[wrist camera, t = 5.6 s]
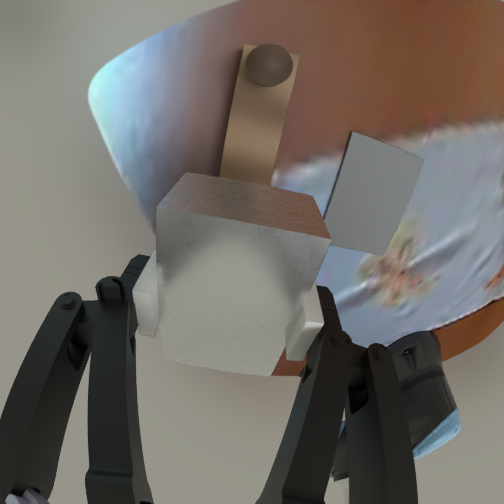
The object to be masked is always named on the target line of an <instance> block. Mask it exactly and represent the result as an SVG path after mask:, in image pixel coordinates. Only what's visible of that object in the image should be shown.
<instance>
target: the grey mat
mask: <svg viewBox="0 0 504 504" xmlns="http://www.w3.org/2000/svg"><path fill="white" fill-rule="evenodd" d="M423 162H424V160H423V159H421V158H419V157H417V156H414V155H412V154H410V153H408V152H405V151H403V150H401V149H398V148H396V147H393V146H391V145H388V144H386V143H383V142H381V141H378V140H376V139H373V138H370V137H367V136H365V135H362V134H359V133H356V132H353V131H351V135H350V138H349V142H348V145H347V148H346V152H345V155H344V158H343V161H342V165H341V168H340V171H339V174H338V177H337V180H336V183H335V186H334V189H333V193H332V196H331V198H330V201H329V204H328V207H327V210H326V213H325V216H324V219H323V220H324V222H325V225H326V227H327V229H328V232H329V234H330V237H331V239H332V240H331V243H330V245H334V246H338V247H343V248H348V249H353V250H358V251H363V252H367V253H372V254H377V255H381V256H384V254H385V252H386V250H387V248H388V246H389V244H390V242H391V239H392V237H393V235H394V233H395V231H396V229H397V227H398V224H399V222H400V220H401V218H402V215H403V213H404V211H405V208H406V206H407V204H408V201H409V199H410V196H411V194H412V192H413V189H414V186H415V184H416V181H417V179H418V176H419V173H420V171H421V168H422V165H423Z"/></svg>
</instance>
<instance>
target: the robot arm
mask: <svg viewBox="0 0 504 504" xmlns="http://www.w3.org/2000/svg"><path fill="white" fill-rule="evenodd" d="M95 288H96V292H97V296H98V300H95V301H82V298H81V296H80V295H79V294H77V293H75V292H66V293H64V294H62V295H60V296H59V297H58V298H57V299H56V301H55V302H54V304H53V306H52V307H51V309H50V311H49V313H48V314H47V316H46V318H45V320H44V321H43V323H42V325H41V327H40V329H39V330H38V332H37V334H36V336H35V338H34V340H33V342H32V344H31V346H30V348H29V350H28V352H27V354H26V356H25V358H24V360H23V363H22V365H21V367H20V369H19V371H18V374H17V376H16V378H15V381H14V383H13V385H12V388H11V390H10V393H9V396H8V398H7V401H6V404H5V407H4V410H3V412H2V415H1V418H0V504H49V502H48V501H47V500H48V498H49V497H50V494H51V491H52V489H53V486H54V481H55V477H56V472H57V466H58V461H59V456H60V452H61V447H62V443H63V439H64V435H65V431H66V427H67V423H68V420H69V416H70V413H71V409H72V406H73V403H74V399H75V396H76V393H77V390H78V387H79V384H80V381H81V378H82V375H83V372H84V370H85V367H86V364H87V361H88V359H89V356H90V353H91V361H90V373H89V388H88V450H89V470H88V471H87V473H86V476H85V487H86V494H87V501H88V504H154V503H153V498H152V494H151V490H150V487H149V484H148V481H147V477H146V471H145V465H144V459H143V452H142V444H141V436H140V426H139V416H138V403H137V385H136V339H135V332H136V330H137V327H138V331H139V334H141V335H145V336H150V337H153V338H154V337H155V335H156V332H157V329H158V326H159V309H158V291H157V273H156V248H155V250H154V252H153V254H152V255H151V257H150V256H145V255H140V254H139V255H137V256H136V257H134V258H133V259H131V261H130V262H129V264H128V266H127V267H126V269H125V270H124V273H123V274H122V275H121V277H120V278H119V277H116V276H109V277H105V278H103V279H101V280H100V281H99V282H97V284H96V287H95ZM334 302H335V301H334V298H333V294H332V293H331V292H330V290H329V289H328V288H327V287H323V286H317V285H316V283H315V282H314V284H313V287H312V289H311V291H310V294H309V296H308V298H307V300H306V303H305V305H304V306H303V309H302V311H301V313H300V315H299V318H298V320H297V322H296V324H295V326H294V328H293V330H292V333H291V335H290V337H289V339H288V341H287V343H286V358H287V360H294V361H303V359H304V357H305V356H306V355H307V364H306V365H305V367H304V368H303V370H302V371H301V373H300V375H299V377H301V376H302V377H301V381H300V384H299V388H298V391H297V395H296V398H295V401H294V405H293V408H292V411H291V414H290V418H289V420H288V424H287V427H286V430H285V433H284V436H283V439H282V441H281V444H280V447H279V450H278V453H277V456H276V458H275V461H274V464H273V466H272V469H271V472H270V474H269V477H268V480H267V482H266V484H265V487H264V489H263V492H262V494H261V496H260V498H259V499H258V500H257V502H256V503H255V504H325V502H324V495H325V492H326V488H327V485H328V481H329V477H334V484H335V485H337V486H338V487H340V488H341V489H342V490H343V497H344V504H418V494H417V482H416V472H415V465H414V460H416V459H418V458H420V457H422V456H424V455H426V454H428V453H430V452H432V451H434V450H435V449H437V448H439V447H440V446H442V445H443V444H445V443H446V442H448V441H449V440H451V439H452V438H453V437H454V436H455V435H457V433H458V432H459V431H460V428H461V421H460V418H459V413H458V408H457V406H456V403H455V401H454V398H453V395H452V392H451V390H450V387H449V384H448V382H447V379H446V377H445V374H444V372H443V368H442V357H441V345H440V342H439V340H438V337H437V335H436V334H435V333H433V332H429V331H423V332H418V333H414V334H411V335H409V336H406V337H404V338H402V339H400V340H398V341H397V342H395V343H394V344H392V345H391V346H389V347H388V348H387V347H385V346H384V345H382V344H379V343H373V344H371V345H370V346H369V347H368V348H365V347H362V346H359V345H356V344H354V343H352V340H351V338H350V336H349V335H348V334H347V333H346V332H344V331H342V327H341V324H340V320H339V316H338V312H337V309H336V305H335V303H334ZM344 408H345V419H346V420H344V421H342V418H343V411H344Z"/></svg>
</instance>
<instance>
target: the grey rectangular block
mask: <svg viewBox="0 0 504 504" xmlns="http://www.w3.org/2000/svg"><path fill="white" fill-rule="evenodd" d="M331 240H332V239H331V237H330V234H329V232H328V229H327V227H326V225H325V222H324V220H323V218H322V215H321V213H320V211H319V209H318V206H317V204H316V202H315V200H314V198H313V196H310V195H306V194H302V193H297V192H293V191H288V190H283V189H279V188H274V187H269V186H264V185H259V184H254V183H249V182H244V181H238V180H233V179H227V178H221V177H215V176H209V175H203V174H197V173H190V172H186V173H185V174H184V175H183V176H182V177H181V178H180V180H179V181H178V182H177V183H176V184H175V185H174V187H173V188H172V189H171V190H170V191H169V193H168V194H167V195H166V196H165V197H164V199H163V200H162V201H161V202H160V203H159V205H158V206H157V212H156V273H157V291H158V309H159V327H160V338H161V348H162V357H163V359H165V360H169V361H173V362H178V363H183V364H188V365H193V366H198V367H203V368H209V369H214V370H220V371H227V372H234V373H241V374H248V375H257V376H266V377H270V376H271V374H272V372H273V370H274V368H275V366H276V364H277V362H278V360H279V358H280V356H281V354H282V352H283V350H284V348H285V346H286V343H287V341H288V339H289V337H290V335H291V333H292V330H293V328H294V326H295V324H296V322H297V320H298V318H299V315H300V313H301V311H302V309H303V306H304V305H305V303H306V300H307V298H308V296H309V294H310V291H311V289H312V287H313V284H314V282H315V280H316V277H317V275H318V272H319V270H320V268H321V265H322V263H323V260H324V258H325V255H326V253H327V250H328V248H329V245H330V243H331Z"/></svg>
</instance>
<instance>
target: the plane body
mask: <svg viewBox="0 0 504 504" xmlns="http://www.w3.org/2000/svg"><path fill="white" fill-rule="evenodd" d="M299 59H300V55H297V54H293V53H289V52H287V51H286V50H285V49H284V48H282V47H280V46H278V45H274V44H264V45H260V46H253V45H247V44H244V49H243V53H242V58H241V62H240V67H239V71H238V76H237V81H236V86H235V91H234V96H233V101H232V106H231V111H230V116H229V122H228V127H227V133H226V138H225V144H224V150H223V156H222V162H221V168H220V174H219V177H221V178H227V179H233V180H238V181H244V182H249V183H254V184H259V185H264V186H269V185H270V181H271V177H272V173H273V168H274V164H275V160H276V156H277V152H278V147H279V143H280V139H281V135H282V131H283V126H284V122H285V118H286V114H287V109H288V105H289V101H290V97H291V93H292V88H293V84H294V80H295V76H296V71H297V67H298V63H299Z"/></svg>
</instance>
